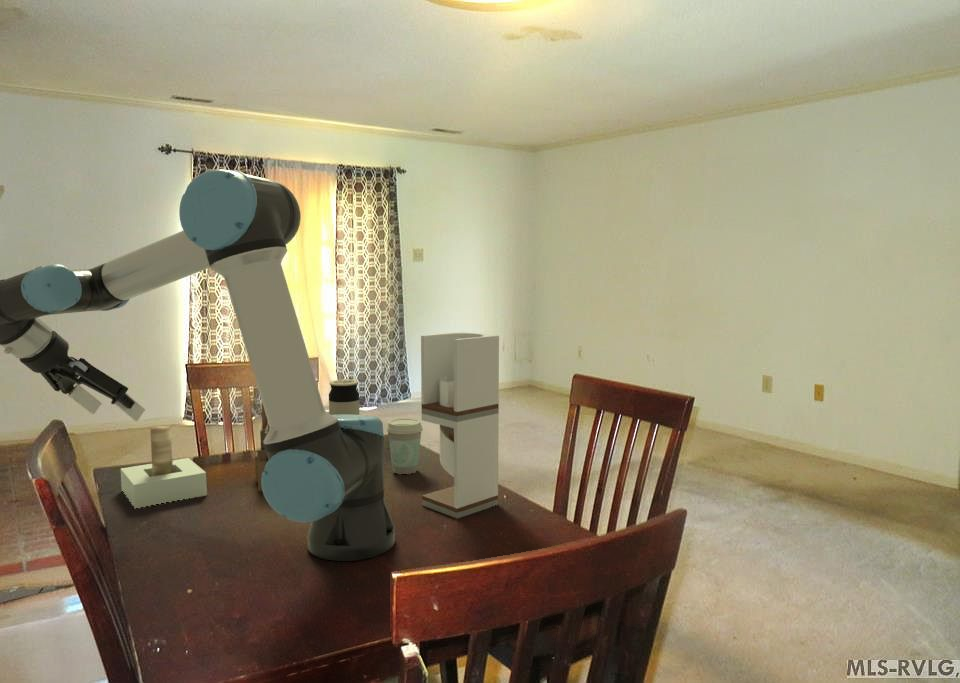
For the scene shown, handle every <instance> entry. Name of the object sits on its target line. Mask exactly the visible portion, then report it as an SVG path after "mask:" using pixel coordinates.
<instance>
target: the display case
mask: <svg viewBox="0 0 960 683" xmlns="http://www.w3.org/2000/svg"><path fill="white" fill-rule="evenodd" d="M420 365H421V370H420V372H421V373H420V378H421V380H420V382H421V388H420V389H421V390H420V391H421V392H420V393H421V396H420V397H421V407H420V408H421V421H423V422H426V423H427V422H428V423H431V424H435V425H439V460H440V461H439V463H440V465H441V467H442V468H443V469H444V471H445V472H446V473H447V474H448V475H449V476H452V478H453V486H449V487H446V488H444V489H440V490H435V491H432V492H429V493H426V494H423V495H421V505H422V506H424V507H425V508H429V509H431V510H434V511H435V512H439V513H441V514H444V515H446V516H449V517H451V518H453V519H454V518H455V519H460V518H464V517H467V516H469V515H473V514H476V513H479V512H481V511H483V510H487V509H490V508H492V506H493V507H496V506H497V505H499V422H500V421H499V420H500V419H499V414H500V413H499V408H500V407H499V406H500V405H499V401H500V400H499V399H500V396H499V394H500V392H499V390H500V387H499V386H500V383H499V382H500V381H499V380H500V379H499V378H500V376H499V374H500V373H499V372H500V335H497V334H496V335H494V334H487V333H477V332H467V331H459V332H447V333H438V334H437V333H436V334H435V333H434V334H426V335H425V334H422V335H420ZM495 505H496V506H495Z"/></svg>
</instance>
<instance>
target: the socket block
mask: <svg viewBox="0 0 960 683" xmlns="http://www.w3.org/2000/svg"><path fill="white" fill-rule="evenodd" d="M172 463H173V473H171V474H165V475H159V476H153V475H152V463H147V464H141V465H140V464H139V465H134V466H129V467H122V468H120V482H121V486H120V487H121V492H122V491H123V492H124V493H123V492H122V493H123V495H124V494H125V495H126V496H125V495H124V496H125V497H126V499H127V498H128V499H129V500H128V499H127V500H128V501H129V503H130V502H131V503H130V504H131V506H132V507H133V506H134V507H133V508H134V510H137V509H136V508H138V509H142V508H141V507H143V508H147V507H146V506H148V507H152V506H151V505H154V506H157V505H156V504H159V505H162V504H161V503H164V504H167V503H166V502H169V503H173V502H172V501H175V502H178V501H177V500H180V501H184V500H183V499H185V500H190V499H194V498H195V497H196V498H200V497H205V496H207V495H208V489H207V488H208V487H207V484H208V483H207V472H206V471H205V470H204V469H202V468H201V467H200V466H199V465H198V464H197V463H195V462H194V461H193V460H192V459H190V458H189V457H186V458H180V459H174V460H173V459H172ZM189 498H190V499H189Z"/></svg>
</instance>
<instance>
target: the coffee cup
mask: <svg viewBox="0 0 960 683" xmlns="http://www.w3.org/2000/svg"><path fill="white" fill-rule="evenodd" d="M385 431H386V432H387V435H388V443H389V444H388V445H389V451H390V453H389V454H390V459H391V461H390V462H391V466H392V467H391V469H392V473H394V474H395V473H397V475H401V474H407V475H412V474H411V473H413V474H416V473H417V472H418V466H419V456H420V448H421V447H420V446H421V437H422V431H423V425H422V424H421V421H420V420H419V419H415V418H397V419H396V418H395V419H391V420H390V421H388V424H387V427H386V430H385ZM416 471H417V472H416Z"/></svg>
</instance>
